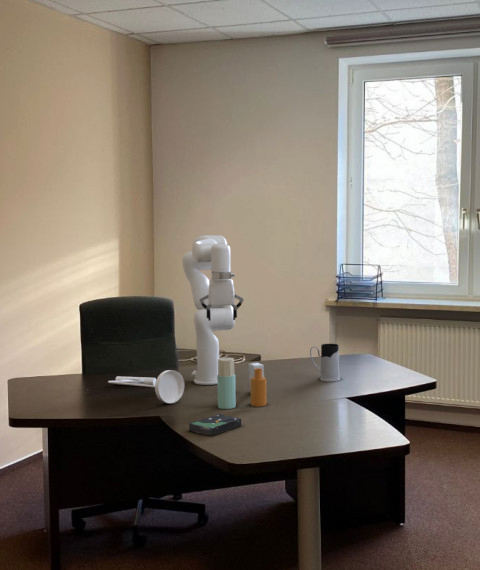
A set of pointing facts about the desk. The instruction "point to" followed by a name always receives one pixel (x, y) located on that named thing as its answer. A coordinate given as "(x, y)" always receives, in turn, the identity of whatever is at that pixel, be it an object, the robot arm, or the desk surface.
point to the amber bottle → (258, 388)
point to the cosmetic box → (251, 370)
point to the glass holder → (328, 362)
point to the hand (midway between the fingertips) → (221, 319)
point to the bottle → (226, 392)
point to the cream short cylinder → (226, 367)
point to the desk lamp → (158, 385)
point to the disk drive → (215, 424)
